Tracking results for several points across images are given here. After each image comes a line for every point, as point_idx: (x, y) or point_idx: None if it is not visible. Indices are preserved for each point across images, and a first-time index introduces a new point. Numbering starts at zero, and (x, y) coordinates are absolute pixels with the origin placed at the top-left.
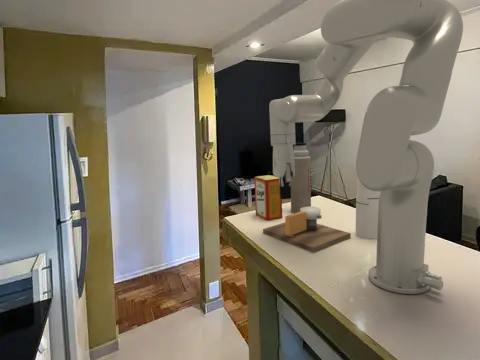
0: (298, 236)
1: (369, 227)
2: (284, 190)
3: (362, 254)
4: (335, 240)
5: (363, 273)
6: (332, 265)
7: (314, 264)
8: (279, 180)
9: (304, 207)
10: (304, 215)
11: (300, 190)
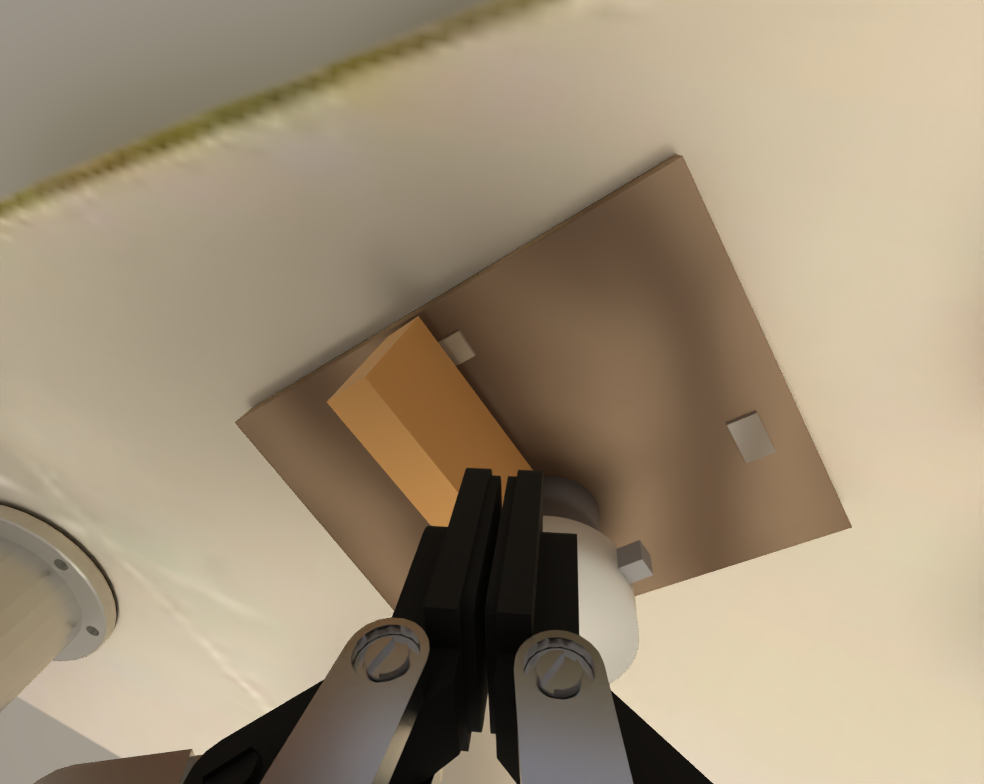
0: None
1: None
2: (404, 598)
3: (239, 587)
4: (358, 560)
5: (59, 508)
6: (112, 433)
7: (111, 360)
8: (584, 749)
9: (618, 617)
10: None
11: None
